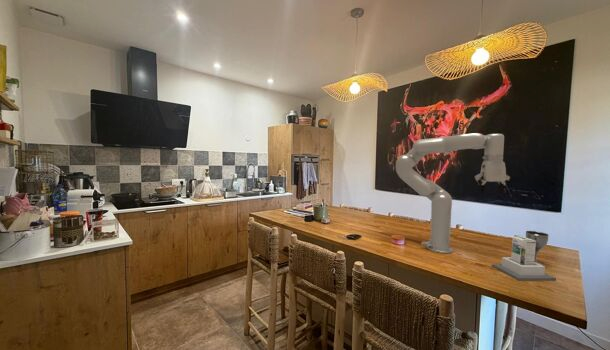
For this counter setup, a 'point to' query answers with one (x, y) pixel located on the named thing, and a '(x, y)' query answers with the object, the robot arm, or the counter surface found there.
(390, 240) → the counter surface
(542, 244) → the wine glass
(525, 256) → the syrup box
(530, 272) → the dock
